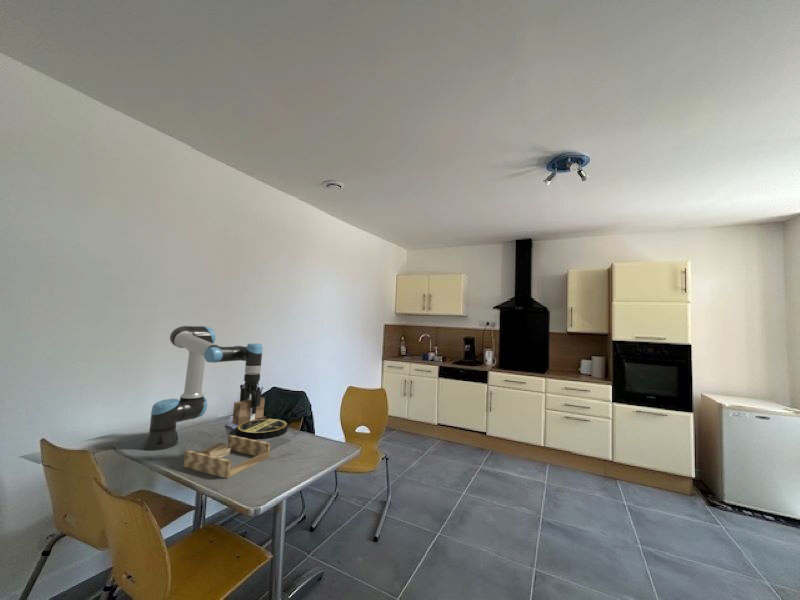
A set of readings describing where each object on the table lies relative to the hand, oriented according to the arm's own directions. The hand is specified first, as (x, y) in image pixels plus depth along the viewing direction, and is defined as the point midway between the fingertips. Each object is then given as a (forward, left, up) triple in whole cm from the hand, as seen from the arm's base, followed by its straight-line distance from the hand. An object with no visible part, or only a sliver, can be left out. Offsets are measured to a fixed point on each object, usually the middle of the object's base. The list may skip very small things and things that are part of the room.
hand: (248, 419), depth 163 cm
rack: (-2, -8, -19) cm, 20 cm away
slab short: (-12, -8, -16) cm, 22 cm away
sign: (-21, +34, -19) cm, 45 cm away
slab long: (-12, -8, -19) cm, 24 cm away
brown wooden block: (0, 0, 0) cm, 0 cm away
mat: (0, +19, -19) cm, 27 cm away
